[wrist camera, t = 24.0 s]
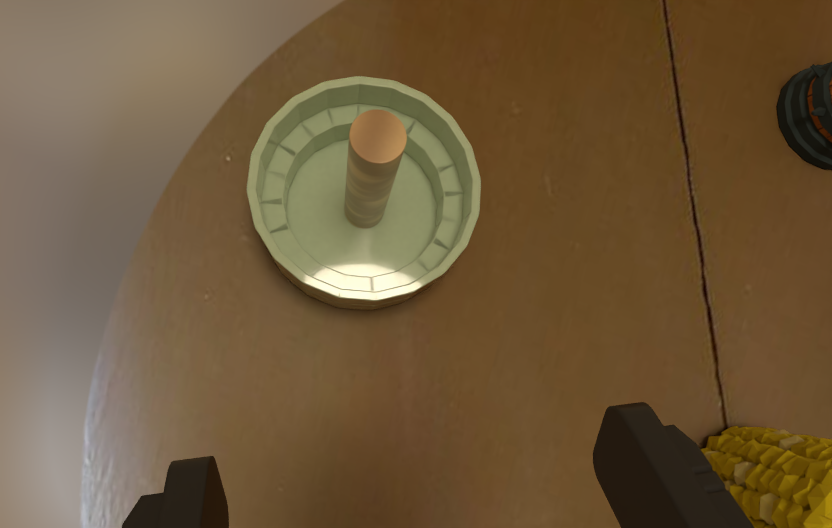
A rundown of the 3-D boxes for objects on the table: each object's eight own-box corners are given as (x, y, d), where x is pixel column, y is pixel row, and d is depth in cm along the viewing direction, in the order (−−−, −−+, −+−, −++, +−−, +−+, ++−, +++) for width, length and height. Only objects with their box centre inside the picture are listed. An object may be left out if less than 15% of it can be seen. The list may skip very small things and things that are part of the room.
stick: (342, 226, 43) (346, 160, 30) (346, 188, 44) (351, 105, 30) (382, 230, 44) (404, 166, 30) (385, 192, 44) (408, 112, 30)
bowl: (248, 301, 42) (233, 289, 35) (272, 106, 45) (262, 62, 38) (454, 318, 44) (475, 309, 37) (464, 129, 47) (485, 92, 40)
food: (794, 519, 46) (678, 550, 45) (775, 377, 45) (656, 405, 44) (1016, 659, 31) (851, 711, 30) (994, 450, 30) (823, 495, 29)
